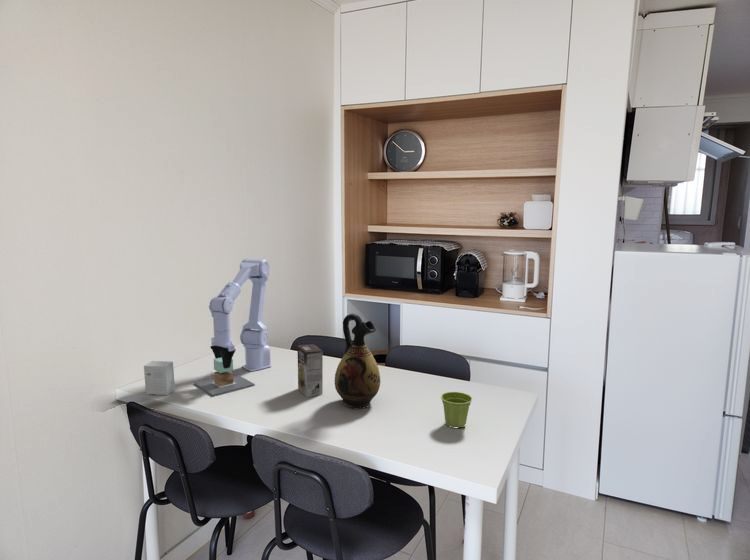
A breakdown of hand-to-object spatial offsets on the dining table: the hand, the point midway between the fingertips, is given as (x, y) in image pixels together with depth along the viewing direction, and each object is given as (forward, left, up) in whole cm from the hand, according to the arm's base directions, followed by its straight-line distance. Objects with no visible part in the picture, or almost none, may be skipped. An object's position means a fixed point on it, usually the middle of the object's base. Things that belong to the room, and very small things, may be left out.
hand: (223, 365), depth 181 cm
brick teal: (0, 0, -2) cm, 2 cm away
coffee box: (-20, +26, -7) cm, 34 cm away
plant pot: (-38, +77, -8) cm, 86 cm away
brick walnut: (0, 0, -6) cm, 7 cm away
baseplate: (0, 0, -7) cm, 7 cm away
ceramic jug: (-26, +44, -7) cm, 52 cm away
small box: (+20, -8, -8) cm, 23 cm away
